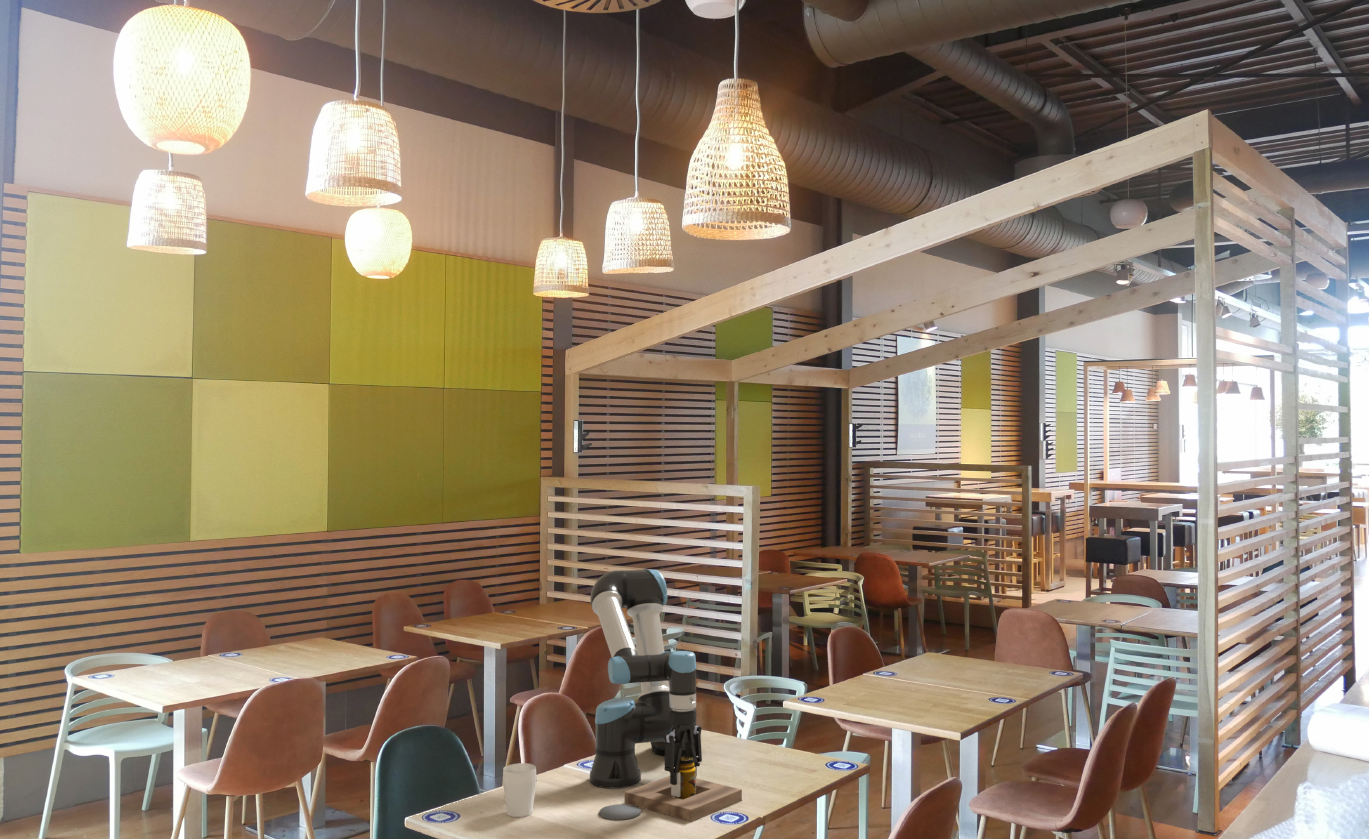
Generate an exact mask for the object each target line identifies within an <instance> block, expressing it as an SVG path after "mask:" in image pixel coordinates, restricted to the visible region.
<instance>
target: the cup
mask: <svg viewBox="0 0 1369 839" xmlns="http://www.w3.org/2000/svg"><path fill="white" fill-rule="evenodd" d="M502 771H503V772H502V785H503V787H502V788H503V793H504V794H503V795H504V801H505V807H506V808H505V809H506V815H508V816H509V817H511V818H512V817H513V818H525V817H528V816H530V815H531V814H532V813H533V808H534V802H535V801H534V800H535V794H536V793H535V792H536V786H537V778H538V777H537V767H536V765H534V764H533V763H526V762H524V763H520V762H519V763H512V764H509V765H506V766H504V767H503V770H502Z"/></svg>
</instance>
